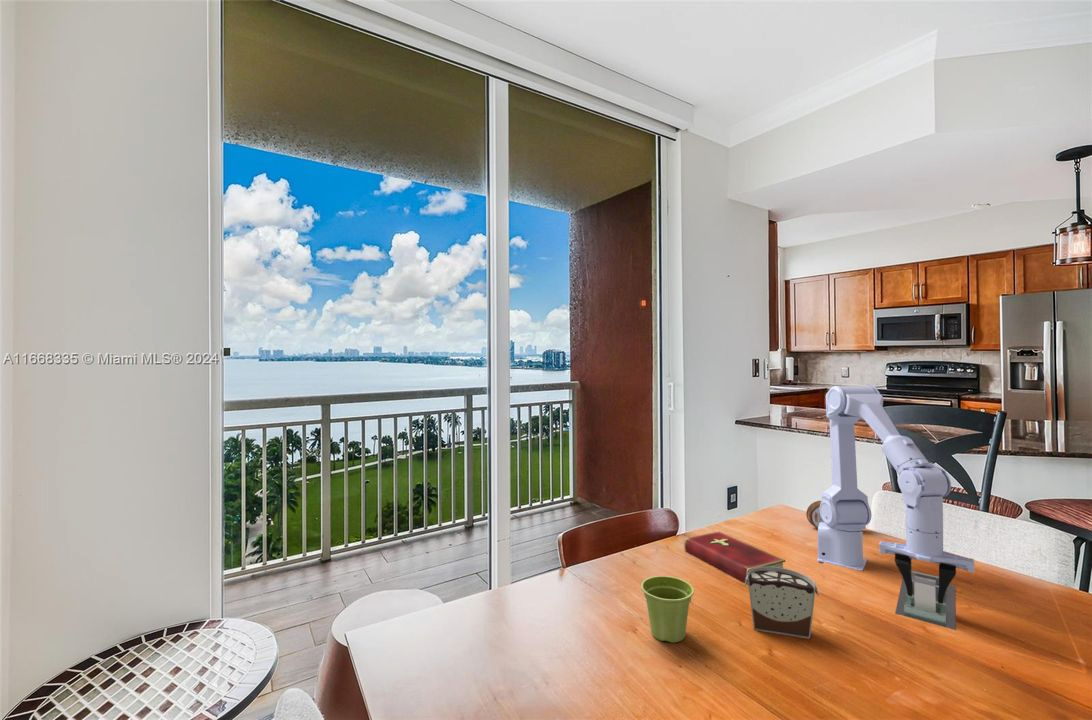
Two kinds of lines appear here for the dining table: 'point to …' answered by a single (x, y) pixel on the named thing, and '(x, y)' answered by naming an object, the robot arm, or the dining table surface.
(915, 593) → the plug
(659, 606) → the plant pot
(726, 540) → the hardcover book
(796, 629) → the grey brown curved-top block
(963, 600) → the dining table surface
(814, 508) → the tin
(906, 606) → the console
